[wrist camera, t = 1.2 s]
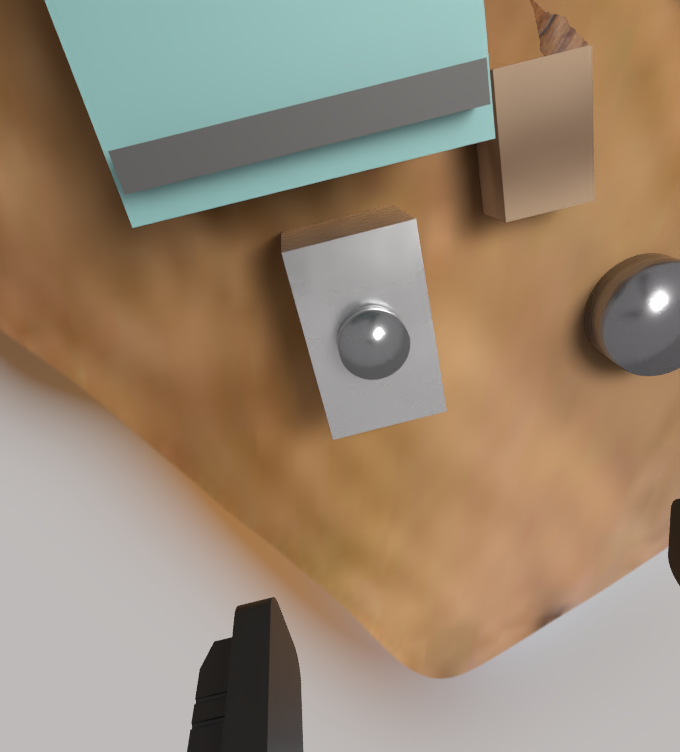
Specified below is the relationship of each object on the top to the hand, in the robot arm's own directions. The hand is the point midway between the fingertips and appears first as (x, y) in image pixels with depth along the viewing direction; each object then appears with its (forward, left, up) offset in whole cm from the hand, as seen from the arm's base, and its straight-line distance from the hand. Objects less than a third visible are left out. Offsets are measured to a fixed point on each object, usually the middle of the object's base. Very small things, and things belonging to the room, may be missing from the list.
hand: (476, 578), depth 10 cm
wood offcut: (-6, +9, -19) cm, 21 cm away
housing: (0, 0, -19) cm, 19 cm away
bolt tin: (+4, +15, -19) cm, 24 cm away
